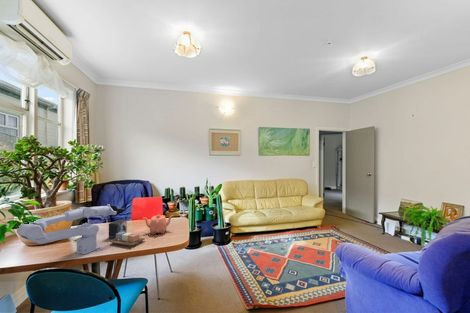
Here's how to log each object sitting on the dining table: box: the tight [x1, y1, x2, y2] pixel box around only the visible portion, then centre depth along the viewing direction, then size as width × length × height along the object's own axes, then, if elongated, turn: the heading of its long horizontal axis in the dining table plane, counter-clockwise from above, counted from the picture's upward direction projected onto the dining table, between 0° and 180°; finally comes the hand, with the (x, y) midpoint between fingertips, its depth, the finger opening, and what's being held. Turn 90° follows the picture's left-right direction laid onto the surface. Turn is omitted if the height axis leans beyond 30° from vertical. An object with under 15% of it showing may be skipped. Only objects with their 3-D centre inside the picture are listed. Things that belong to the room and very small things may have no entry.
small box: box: [108, 219, 128, 240], centre depth 148 cm, size 11×6×10 cm, turn 168°
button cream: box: [122, 231, 134, 241], centre depth 136 cm, size 4×4×4 cm
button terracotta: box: [128, 233, 140, 242], centre depth 134 cm, size 4×4×4 cm
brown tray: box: [109, 236, 146, 250], centre depth 136 cm, size 11×18×2 cm, turn 69°
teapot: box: [142, 214, 174, 236], centre depth 155 cm, size 15×17×13 cm
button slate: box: [116, 231, 128, 240], centre depth 138 cm, size 4×4×4 cm
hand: (119, 209), depth 145 cm, fingers open, 7 cm apart
